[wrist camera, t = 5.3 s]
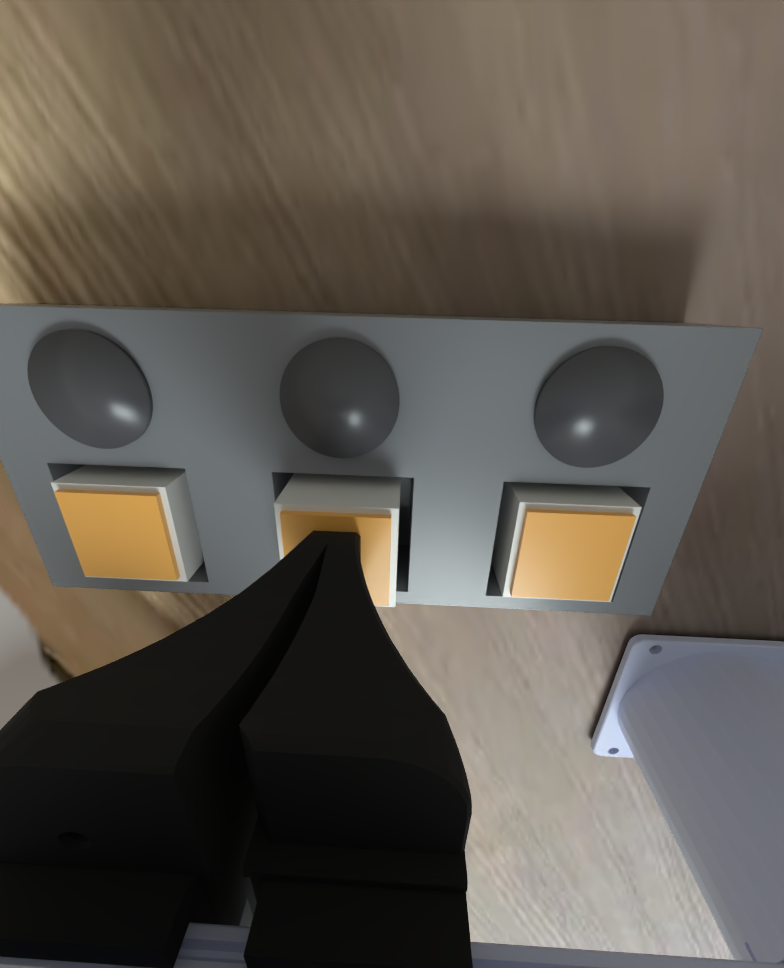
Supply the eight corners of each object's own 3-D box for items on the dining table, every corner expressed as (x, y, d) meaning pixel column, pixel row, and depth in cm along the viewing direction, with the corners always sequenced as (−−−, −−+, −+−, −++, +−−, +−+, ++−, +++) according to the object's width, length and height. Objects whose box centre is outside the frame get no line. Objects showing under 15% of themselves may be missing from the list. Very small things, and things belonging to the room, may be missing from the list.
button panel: (684, 323, 12) (770, 328, 9) (609, 562, 16) (654, 619, 13) (-83, 300, 13) (-226, 299, 10) (19, 535, 17) (-64, 584, 14)
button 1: (596, 466, 14) (646, 510, 11) (574, 548, 15) (613, 606, 12) (498, 462, 14) (521, 505, 11) (486, 544, 15) (503, 601, 12)
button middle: (401, 466, 13) (398, 512, 10) (397, 551, 15) (394, 611, 12) (301, 462, 13) (271, 506, 10) (307, 546, 15) (282, 606, 12)
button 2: (212, 451, 14) (161, 490, 11) (226, 533, 16) (184, 585, 13) (119, 448, 14) (44, 485, 11) (141, 529, 16) (80, 580, 13)
